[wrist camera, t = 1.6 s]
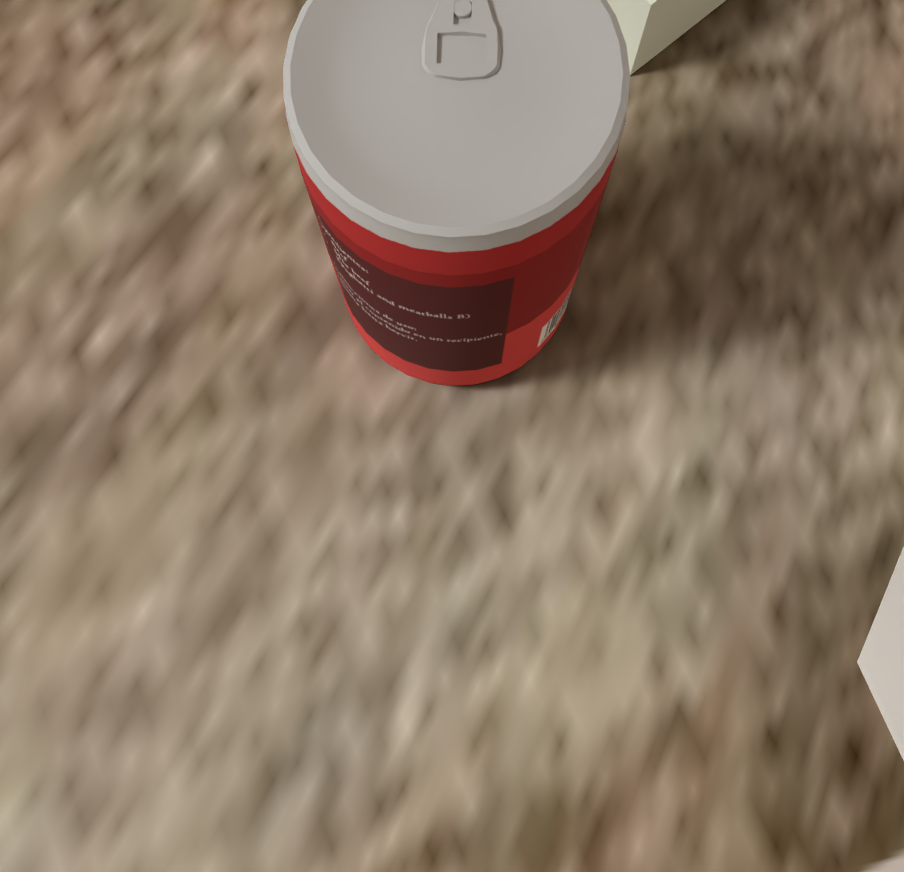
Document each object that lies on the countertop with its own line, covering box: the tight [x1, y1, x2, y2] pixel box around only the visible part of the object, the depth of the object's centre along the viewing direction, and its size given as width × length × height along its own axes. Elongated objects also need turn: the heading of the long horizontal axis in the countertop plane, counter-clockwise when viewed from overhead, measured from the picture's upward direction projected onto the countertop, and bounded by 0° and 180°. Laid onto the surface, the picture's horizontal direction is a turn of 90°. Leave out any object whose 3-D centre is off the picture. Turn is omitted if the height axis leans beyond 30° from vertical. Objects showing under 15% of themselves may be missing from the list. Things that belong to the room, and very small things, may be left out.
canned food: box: [283, 0, 630, 386], centre depth 24 cm, size 8×8×11 cm
